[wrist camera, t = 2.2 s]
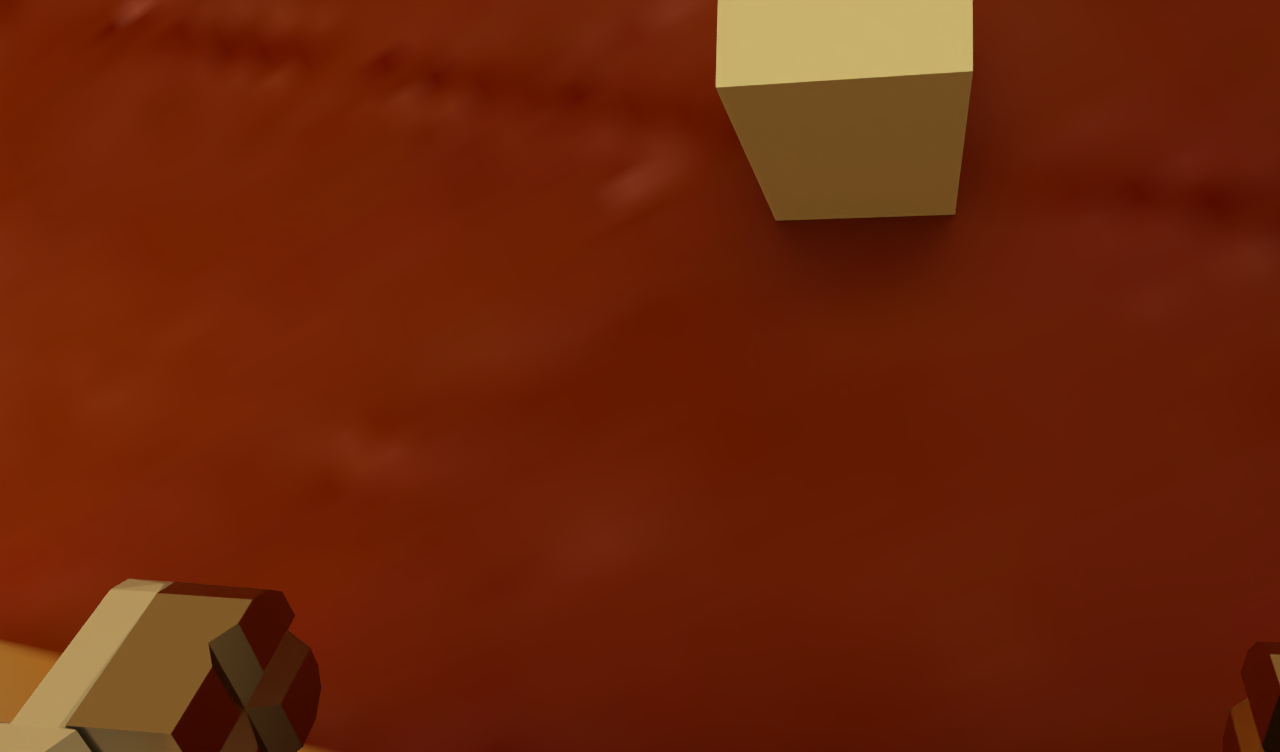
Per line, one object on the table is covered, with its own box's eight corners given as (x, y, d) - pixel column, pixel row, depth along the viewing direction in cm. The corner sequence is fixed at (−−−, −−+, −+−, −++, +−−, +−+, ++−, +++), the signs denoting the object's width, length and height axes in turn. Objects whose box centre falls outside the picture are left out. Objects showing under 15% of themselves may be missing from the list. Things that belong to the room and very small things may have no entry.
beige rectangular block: (954, 43, 31) (971, -171, 22) (954, 214, 31) (972, 71, 21) (778, 56, 33) (721, -142, 23) (775, 220, 32) (715, 87, 22)
